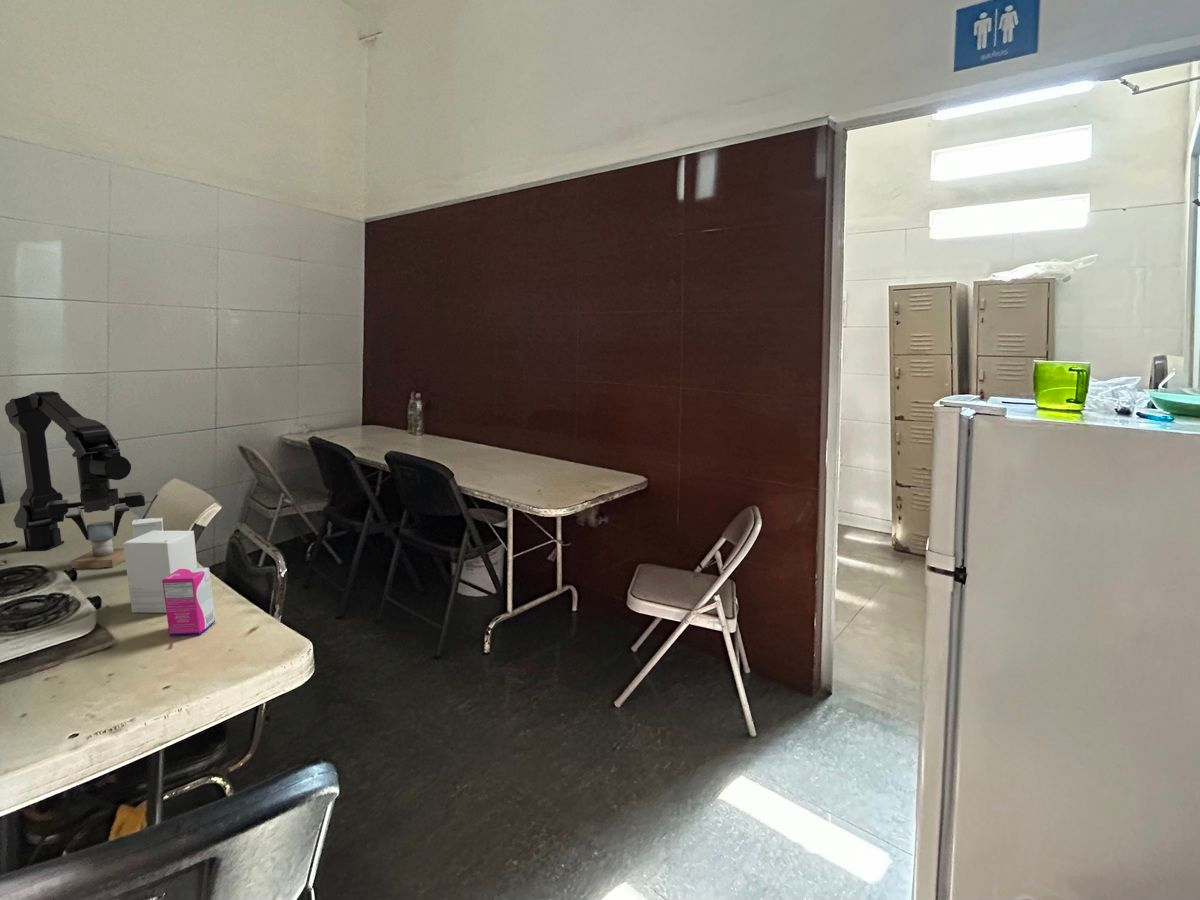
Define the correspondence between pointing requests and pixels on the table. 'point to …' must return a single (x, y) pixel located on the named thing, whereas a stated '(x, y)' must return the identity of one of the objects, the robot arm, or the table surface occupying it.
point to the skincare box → (146, 526)
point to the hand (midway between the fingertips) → (101, 537)
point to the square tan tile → (100, 556)
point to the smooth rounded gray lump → (100, 531)
